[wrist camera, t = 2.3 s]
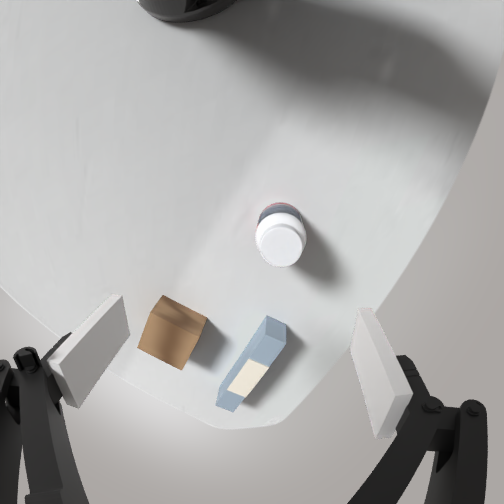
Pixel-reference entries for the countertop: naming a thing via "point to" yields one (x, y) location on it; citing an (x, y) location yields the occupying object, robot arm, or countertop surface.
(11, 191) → the countertop surface
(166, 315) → the walnut block
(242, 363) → the blue and cream block
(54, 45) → the countertop surface
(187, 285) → the countertop surface
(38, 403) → the robot arm
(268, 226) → the pill bottle
